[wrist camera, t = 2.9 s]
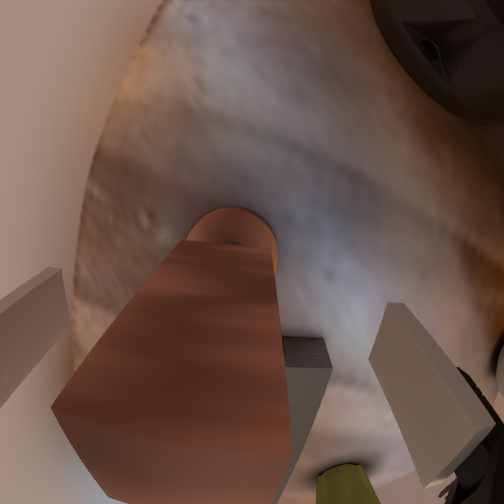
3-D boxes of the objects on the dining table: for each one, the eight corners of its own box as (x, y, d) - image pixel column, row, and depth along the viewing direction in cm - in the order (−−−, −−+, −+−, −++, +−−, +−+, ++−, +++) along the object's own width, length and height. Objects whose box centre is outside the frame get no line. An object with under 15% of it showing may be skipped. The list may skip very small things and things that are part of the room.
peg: (282, 211, 17) (362, 422, 3) (271, 295, 19) (287, 530, 5) (189, 203, 17) (4, 359, 3) (187, 287, 19) (91, 497, 5)
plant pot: (373, 446, 25) (391, 506, 17) (378, 474, 28) (391, 522, 20) (295, 469, 27) (300, 530, 18) (313, 493, 29) (318, 542, 21)
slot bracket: (323, 338, 20) (332, 368, 17) (275, 483, 28) (276, 504, 25) (134, 318, 20) (116, 344, 17) (165, 471, 28) (159, 491, 24)
